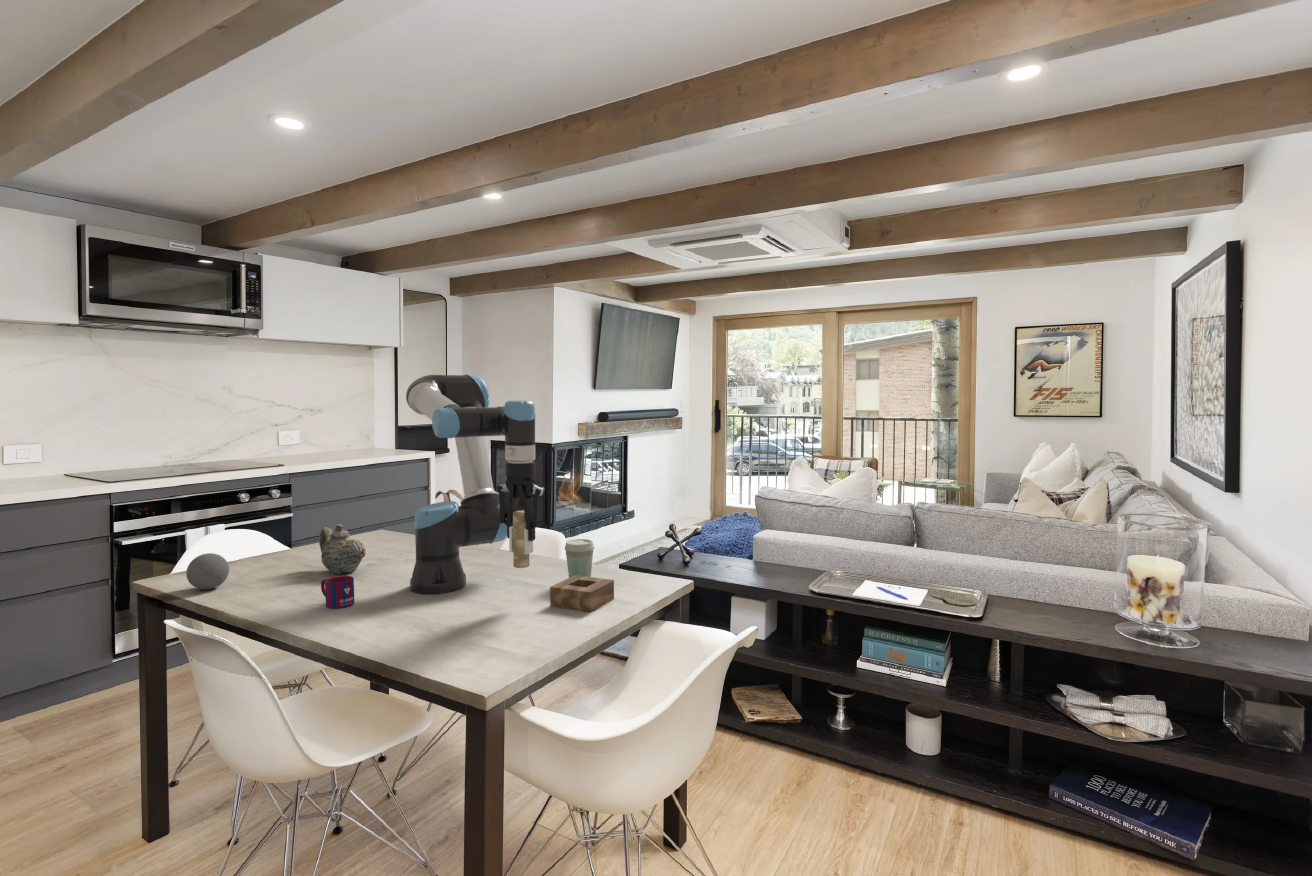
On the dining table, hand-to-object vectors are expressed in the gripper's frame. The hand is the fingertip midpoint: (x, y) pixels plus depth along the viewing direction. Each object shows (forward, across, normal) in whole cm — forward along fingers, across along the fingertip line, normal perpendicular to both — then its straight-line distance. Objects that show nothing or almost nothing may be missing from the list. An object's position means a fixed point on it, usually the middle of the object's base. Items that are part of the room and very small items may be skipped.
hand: (521, 551), depth 170 cm
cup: (+15, -44, -19) cm, 50 cm away
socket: (+14, +14, +8) cm, 21 cm away
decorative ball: (+15, -89, -24) cm, 94 cm away
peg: (+4, 0, 0) cm, 4 cm away
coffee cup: (+14, +4, +23) cm, 27 cm away
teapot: (+15, -70, +4) cm, 72 cm away
